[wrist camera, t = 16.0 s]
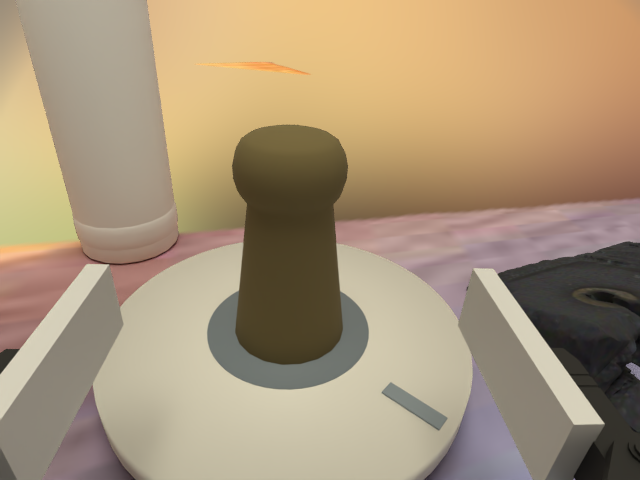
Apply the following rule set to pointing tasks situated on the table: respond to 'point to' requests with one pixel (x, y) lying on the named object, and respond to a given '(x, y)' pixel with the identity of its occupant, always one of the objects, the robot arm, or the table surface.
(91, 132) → the bottle
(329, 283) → the cork
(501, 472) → the table surface
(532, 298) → the dark grey folded cloth
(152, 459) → the turntable
